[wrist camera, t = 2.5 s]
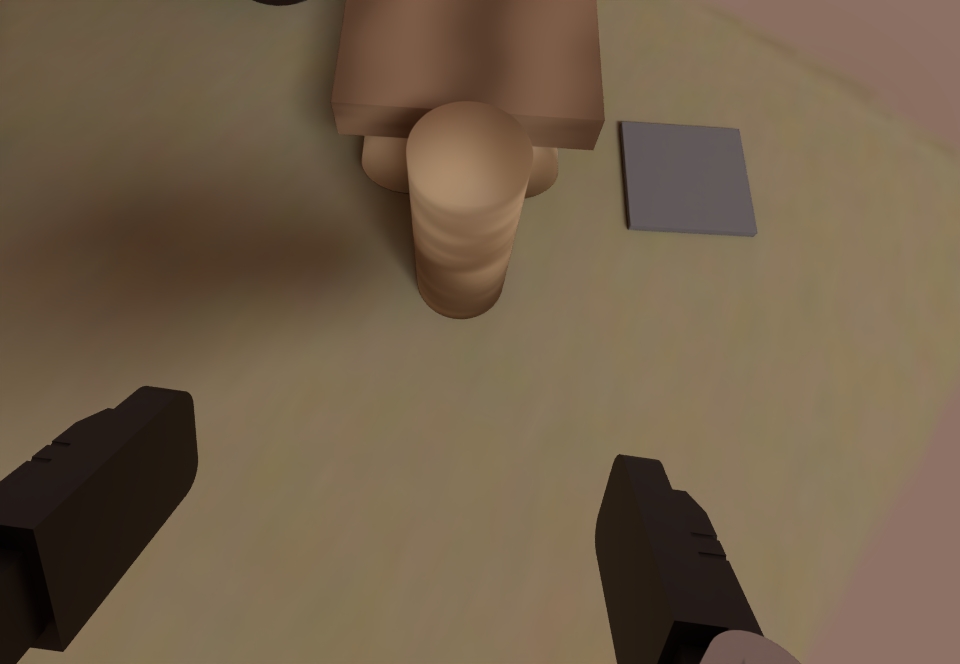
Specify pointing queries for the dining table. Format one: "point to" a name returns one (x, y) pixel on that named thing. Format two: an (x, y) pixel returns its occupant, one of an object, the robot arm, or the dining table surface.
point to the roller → (465, 203)
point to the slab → (468, 74)
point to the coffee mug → (279, 2)
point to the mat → (686, 179)
